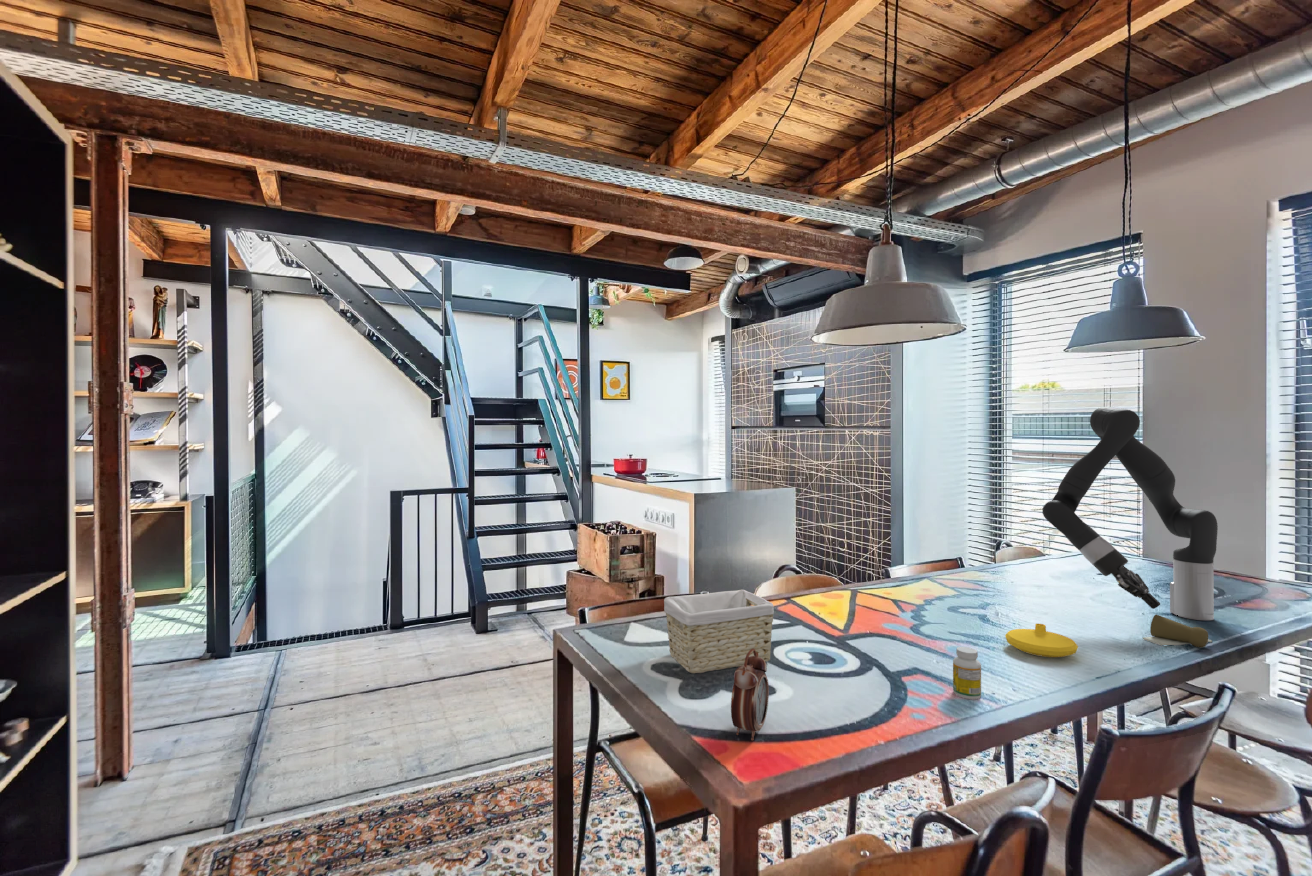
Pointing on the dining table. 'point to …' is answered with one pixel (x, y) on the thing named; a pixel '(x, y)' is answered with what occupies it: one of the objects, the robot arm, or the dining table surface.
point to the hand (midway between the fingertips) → (1157, 606)
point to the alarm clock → (750, 694)
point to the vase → (1041, 642)
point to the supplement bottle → (967, 674)
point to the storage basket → (718, 629)
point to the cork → (1178, 631)
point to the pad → (1166, 641)
